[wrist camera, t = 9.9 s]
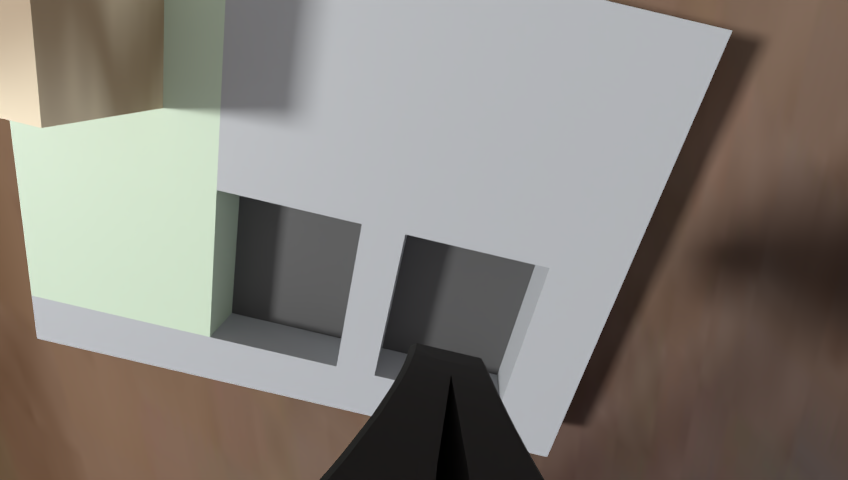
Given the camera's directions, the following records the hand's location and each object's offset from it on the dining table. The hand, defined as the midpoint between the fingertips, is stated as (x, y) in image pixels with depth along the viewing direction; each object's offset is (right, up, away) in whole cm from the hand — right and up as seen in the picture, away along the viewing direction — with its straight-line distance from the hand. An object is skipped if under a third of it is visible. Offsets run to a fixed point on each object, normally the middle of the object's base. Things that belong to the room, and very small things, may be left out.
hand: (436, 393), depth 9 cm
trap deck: (-4, +5, +9) cm, 10 cm away
